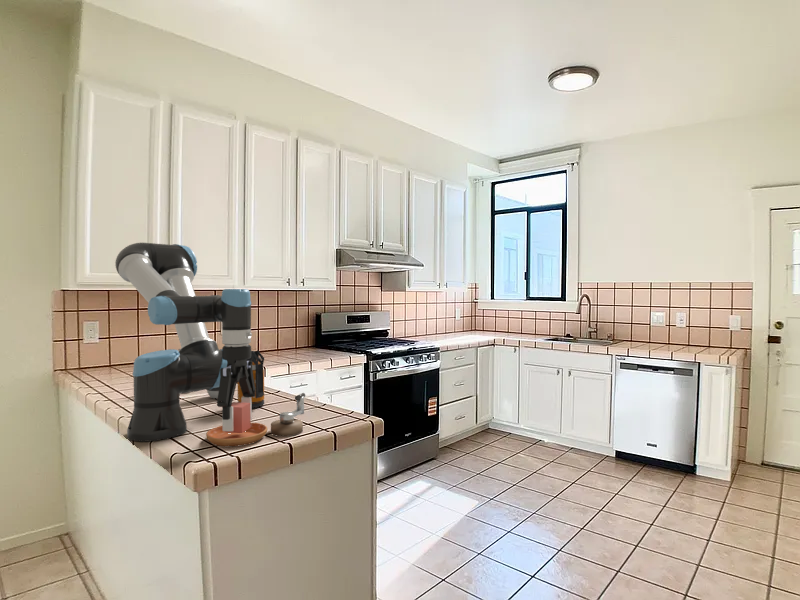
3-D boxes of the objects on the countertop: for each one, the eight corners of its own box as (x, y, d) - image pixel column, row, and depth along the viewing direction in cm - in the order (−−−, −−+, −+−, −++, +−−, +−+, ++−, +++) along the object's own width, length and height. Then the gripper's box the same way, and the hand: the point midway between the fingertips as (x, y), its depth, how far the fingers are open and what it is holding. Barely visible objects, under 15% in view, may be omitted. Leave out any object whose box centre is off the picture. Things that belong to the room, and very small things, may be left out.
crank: (289, 424, 135) (289, 402, 134) (277, 423, 136) (276, 401, 136) (309, 413, 146) (309, 393, 146) (297, 412, 147) (297, 392, 147)
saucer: (197, 440, 131) (197, 429, 131) (252, 428, 142) (252, 418, 142) (219, 454, 120) (219, 443, 119) (277, 441, 130) (277, 430, 130)
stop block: (224, 432, 128) (224, 406, 128) (233, 426, 133) (233, 402, 133) (242, 433, 128) (241, 407, 127) (250, 427, 133) (250, 402, 132)
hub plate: (265, 435, 133) (265, 426, 133) (278, 426, 142) (278, 417, 142) (296, 437, 132) (296, 427, 132) (307, 427, 141) (307, 418, 141)
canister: (254, 402, 173) (254, 347, 173) (273, 406, 166) (272, 350, 166) (232, 406, 166) (232, 350, 166) (250, 411, 159) (250, 352, 159)
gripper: (229, 350, 119) (230, 438, 119) (267, 340, 141) (267, 415, 141) (201, 349, 120) (202, 437, 120) (243, 340, 142) (244, 414, 142)
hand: (237, 425), depth 131 cm, fingers open, 10 cm apart
